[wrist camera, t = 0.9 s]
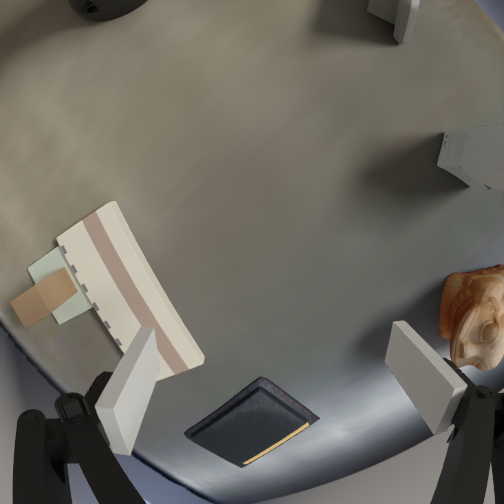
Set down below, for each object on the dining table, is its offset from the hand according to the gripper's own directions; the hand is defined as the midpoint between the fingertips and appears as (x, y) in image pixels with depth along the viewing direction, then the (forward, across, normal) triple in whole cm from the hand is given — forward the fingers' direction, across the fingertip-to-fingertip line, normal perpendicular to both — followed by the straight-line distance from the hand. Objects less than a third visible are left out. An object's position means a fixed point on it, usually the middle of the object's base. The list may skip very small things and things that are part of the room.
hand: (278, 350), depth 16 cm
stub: (+25, -29, -6) cm, 38 cm away
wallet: (+25, -1, -32) cm, 41 cm away
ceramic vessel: (+25, +38, -10) cm, 47 cm away
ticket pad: (+25, -17, -7) cm, 31 cm away
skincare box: (+25, +30, +13) cm, 42 cm away
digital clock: (+25, +21, +38) cm, 50 cm away
